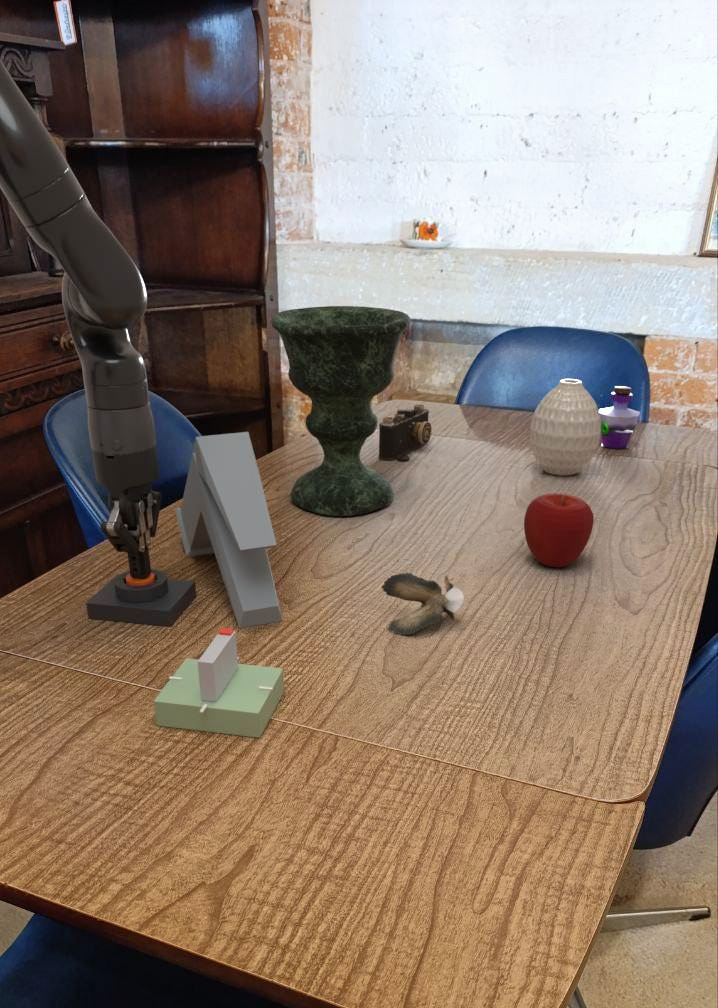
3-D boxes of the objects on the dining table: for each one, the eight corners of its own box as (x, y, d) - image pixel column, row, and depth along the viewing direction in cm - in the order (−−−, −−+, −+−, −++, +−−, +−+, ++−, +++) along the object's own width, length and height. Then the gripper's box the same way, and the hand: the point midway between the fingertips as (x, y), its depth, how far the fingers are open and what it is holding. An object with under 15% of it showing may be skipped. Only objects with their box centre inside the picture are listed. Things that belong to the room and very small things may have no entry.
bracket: (215, 675, 123) (237, 601, 100) (174, 508, 131) (186, 406, 108) (271, 664, 125) (305, 590, 103) (227, 501, 133) (250, 400, 111)
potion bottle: (585, 446, 181) (593, 387, 175) (605, 437, 186) (612, 380, 181) (624, 454, 176) (633, 393, 170) (643, 445, 181) (652, 386, 176)
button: (122, 593, 111) (120, 580, 110) (134, 581, 114) (132, 569, 113) (149, 595, 110) (147, 583, 109) (160, 584, 113) (158, 571, 113)
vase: (602, 466, 168) (615, 378, 160) (585, 485, 158) (597, 391, 150) (537, 457, 173) (546, 371, 165) (517, 475, 163) (525, 383, 155)
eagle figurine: (433, 593, 115) (372, 593, 111) (458, 560, 109) (395, 560, 105) (451, 642, 111) (389, 644, 107) (478, 612, 106) (413, 613, 102)
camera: (403, 464, 169) (404, 422, 165) (373, 458, 172) (374, 418, 168) (442, 444, 181) (444, 405, 178) (414, 439, 185) (415, 401, 181)
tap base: (151, 731, 88) (147, 705, 87) (191, 676, 98) (188, 651, 96) (257, 744, 86) (255, 717, 85) (288, 687, 96) (286, 662, 95)
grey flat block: (216, 702, 88) (212, 660, 85) (201, 700, 88) (197, 659, 86) (238, 667, 94) (235, 628, 91) (224, 666, 94) (221, 627, 92)
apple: (589, 578, 122) (598, 509, 117) (519, 572, 124) (526, 505, 119) (586, 552, 130) (594, 487, 126) (521, 547, 132) (527, 483, 127)
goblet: (258, 514, 144) (248, 322, 130) (302, 474, 163) (298, 303, 149) (388, 527, 139) (392, 329, 125) (418, 484, 158) (424, 308, 144)
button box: (88, 618, 110) (83, 589, 109) (119, 589, 118) (115, 561, 116) (170, 626, 109) (167, 597, 107) (196, 596, 116) (194, 568, 114)
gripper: (118, 426, 109) (135, 554, 118) (66, 456, 98) (89, 596, 106) (175, 429, 108) (188, 559, 116) (129, 459, 97) (147, 601, 105)
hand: (141, 576), depth 111 cm, fingers closed
